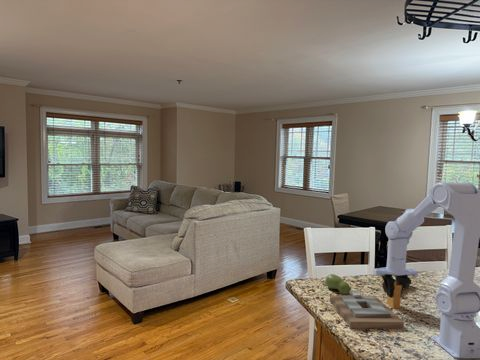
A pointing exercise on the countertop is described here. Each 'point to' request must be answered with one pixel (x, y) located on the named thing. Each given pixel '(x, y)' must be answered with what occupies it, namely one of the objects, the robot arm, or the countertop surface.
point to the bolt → (395, 280)
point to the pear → (337, 284)
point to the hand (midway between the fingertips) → (393, 296)
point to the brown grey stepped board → (365, 311)
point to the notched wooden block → (395, 296)
